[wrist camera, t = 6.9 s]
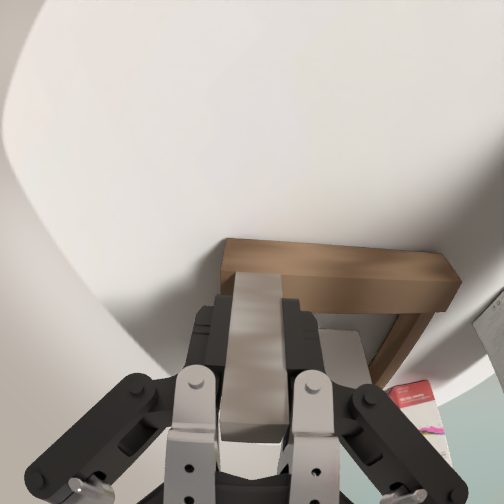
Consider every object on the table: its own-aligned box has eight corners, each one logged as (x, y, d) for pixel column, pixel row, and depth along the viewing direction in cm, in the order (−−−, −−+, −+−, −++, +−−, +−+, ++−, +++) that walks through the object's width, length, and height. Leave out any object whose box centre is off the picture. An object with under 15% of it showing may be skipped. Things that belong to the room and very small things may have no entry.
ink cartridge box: (391, 385, 25) (416, 511, 13) (429, 378, 25) (460, 493, 13) (368, 417, 30) (383, 518, 18) (402, 410, 30) (420, 506, 17)
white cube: (279, 325, 20) (282, 401, 14) (358, 329, 20) (376, 399, 15) (265, 370, 23) (265, 434, 18) (332, 373, 23) (341, 433, 18)
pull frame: (442, 253, 15) (518, 379, 7) (370, 380, 23) (389, 473, 15) (226, 238, 15) (195, 418, 7) (227, 381, 23) (217, 485, 15)
